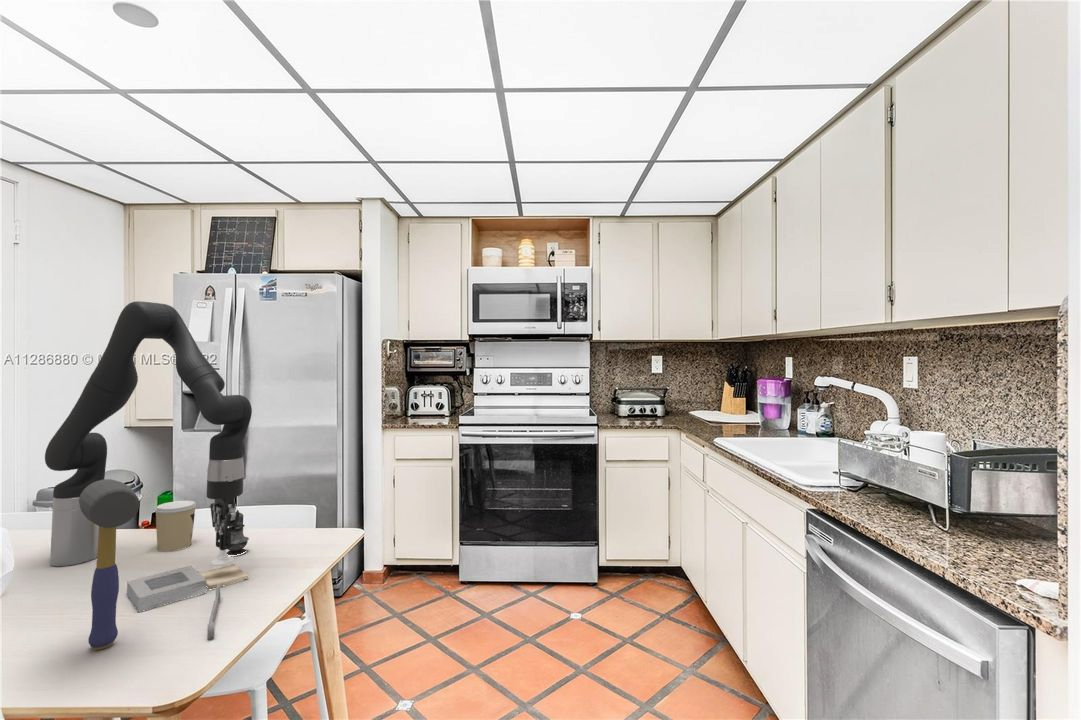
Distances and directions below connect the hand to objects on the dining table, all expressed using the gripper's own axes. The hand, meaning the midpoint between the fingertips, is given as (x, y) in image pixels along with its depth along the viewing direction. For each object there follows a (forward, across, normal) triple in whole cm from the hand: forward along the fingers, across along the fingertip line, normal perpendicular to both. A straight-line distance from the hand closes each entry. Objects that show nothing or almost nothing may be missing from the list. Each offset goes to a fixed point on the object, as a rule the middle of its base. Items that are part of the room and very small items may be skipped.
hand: (223, 547), depth 118 cm
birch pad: (+8, 0, 0) cm, 8 cm away
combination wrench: (+8, +20, -7) cm, 22 cm away
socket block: (+8, 0, -11) cm, 13 cm away
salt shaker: (+8, -16, +8) cm, 19 cm away
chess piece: (+4, 0, 0) cm, 4 cm away
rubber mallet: (+8, +17, -24) cm, 30 cm away
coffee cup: (+8, -34, -2) cm, 35 cm away
